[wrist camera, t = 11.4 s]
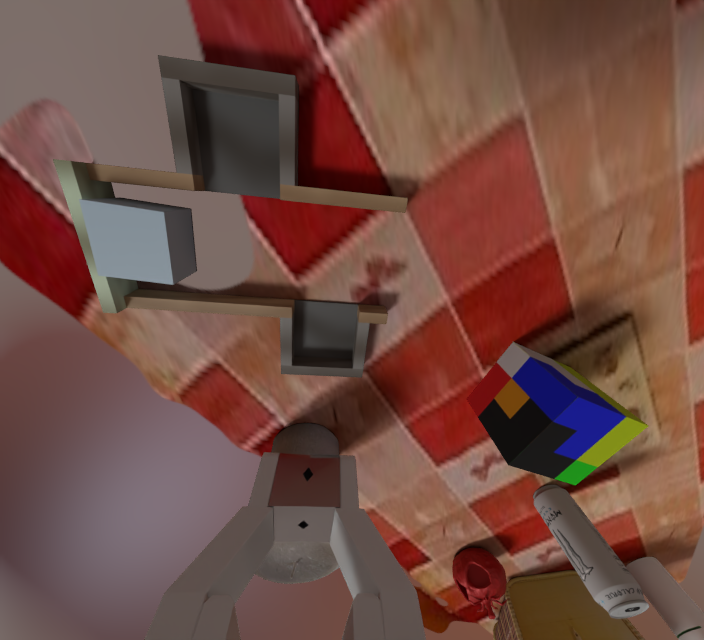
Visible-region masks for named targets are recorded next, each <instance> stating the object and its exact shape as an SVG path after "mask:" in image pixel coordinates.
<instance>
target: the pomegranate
mask: <svg viewBox="0 0 704 640" xmlns="http://www.w3.org/2000/svg"><path fill="white" fill-rule="evenodd" d="M453 579H454V581H455V584H456V585H457V587H458V589H459V591H460V593H461V594H462V595H463V596H464V598H465V599H466V600H467V601H468V602H469V603H471V604H473V605H477V604H479V603H481V602H482V606H481V609H478V610H477V613H478V612H479V611H481V612H482V611H483V610H484V608H485V605H486V607H487V609H488V615H489V618H490V619H494V618H495V617H496V616H495V615H494V613H493V611H492V607H494V606H493V603H492V601H494V602H496V603H498V604H500V605H502V606H503V605H504V604H505V603H506V601H507V600H508V599H507V600H506V601H504V602H503V603H502V604H501V603H500V602H499V601H497V600H499V599H500V597H502V595H504V594H505V592H506V583H507V581H506V575H505V570H504V568H503V566H502V565H501V564H500V562H499V561H498V560H497V559H496V558H495V557H494V556H493V555H492V554H491V553H490V552H488V551H487V550H484V549H482V548H467V549H465V550H463V551H461V552H460V553H459V554H458V555H457V556H455V558H454V560H453ZM491 606H492V607H491ZM494 609H498V608H497V607H494Z"/></svg>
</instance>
